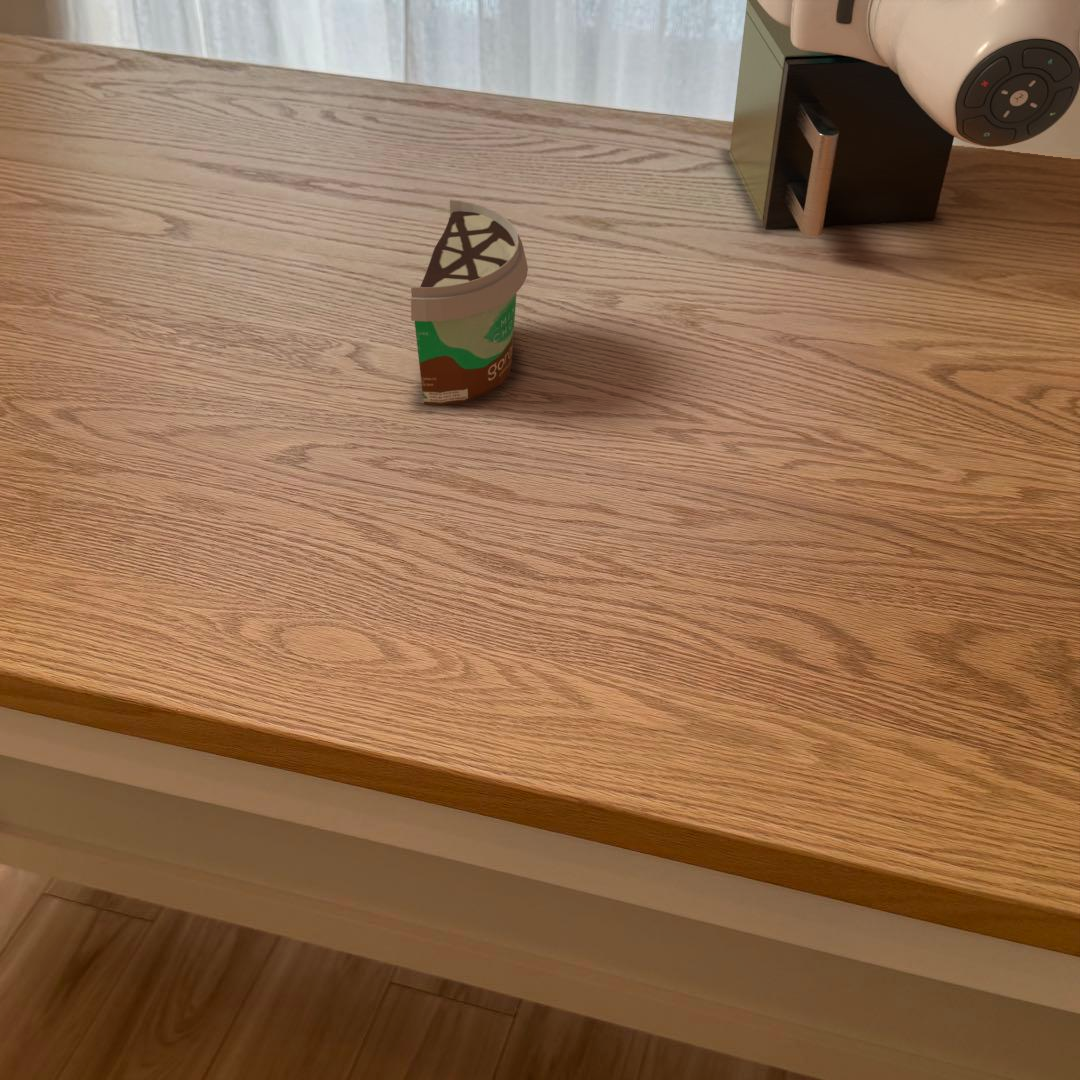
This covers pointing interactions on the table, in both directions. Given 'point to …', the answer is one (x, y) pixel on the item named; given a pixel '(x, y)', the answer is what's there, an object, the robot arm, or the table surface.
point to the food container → (468, 306)
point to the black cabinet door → (852, 149)
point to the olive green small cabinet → (761, 98)
